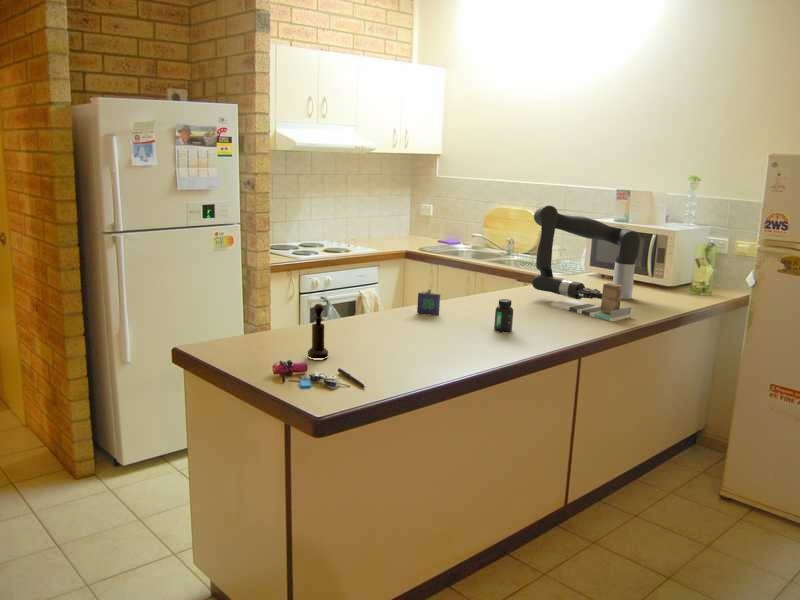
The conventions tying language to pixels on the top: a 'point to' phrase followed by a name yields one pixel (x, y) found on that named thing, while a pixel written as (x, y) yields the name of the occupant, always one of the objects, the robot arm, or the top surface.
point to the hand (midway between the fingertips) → (605, 297)
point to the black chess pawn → (318, 336)
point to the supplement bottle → (503, 316)
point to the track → (593, 310)
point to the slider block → (611, 297)
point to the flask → (428, 303)
